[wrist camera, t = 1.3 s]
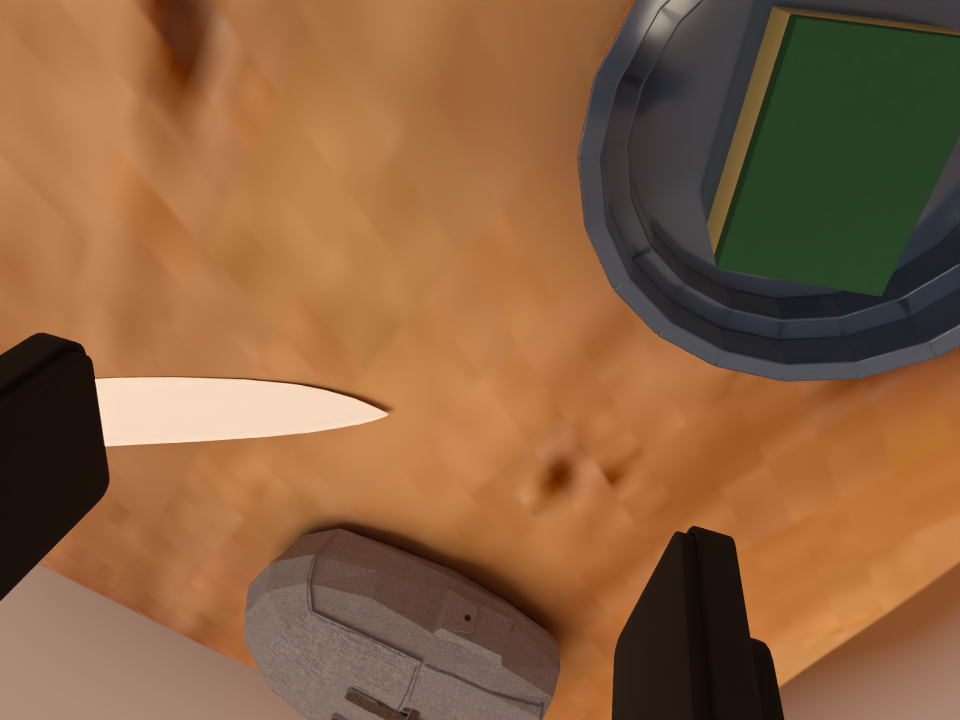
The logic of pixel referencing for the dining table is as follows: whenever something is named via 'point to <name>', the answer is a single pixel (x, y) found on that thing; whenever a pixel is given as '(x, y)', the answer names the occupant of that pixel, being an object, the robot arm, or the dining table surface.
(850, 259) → the sponge
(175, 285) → the dining table surface
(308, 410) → the knife
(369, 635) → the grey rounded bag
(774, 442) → the dining table surface
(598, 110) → the bowl
